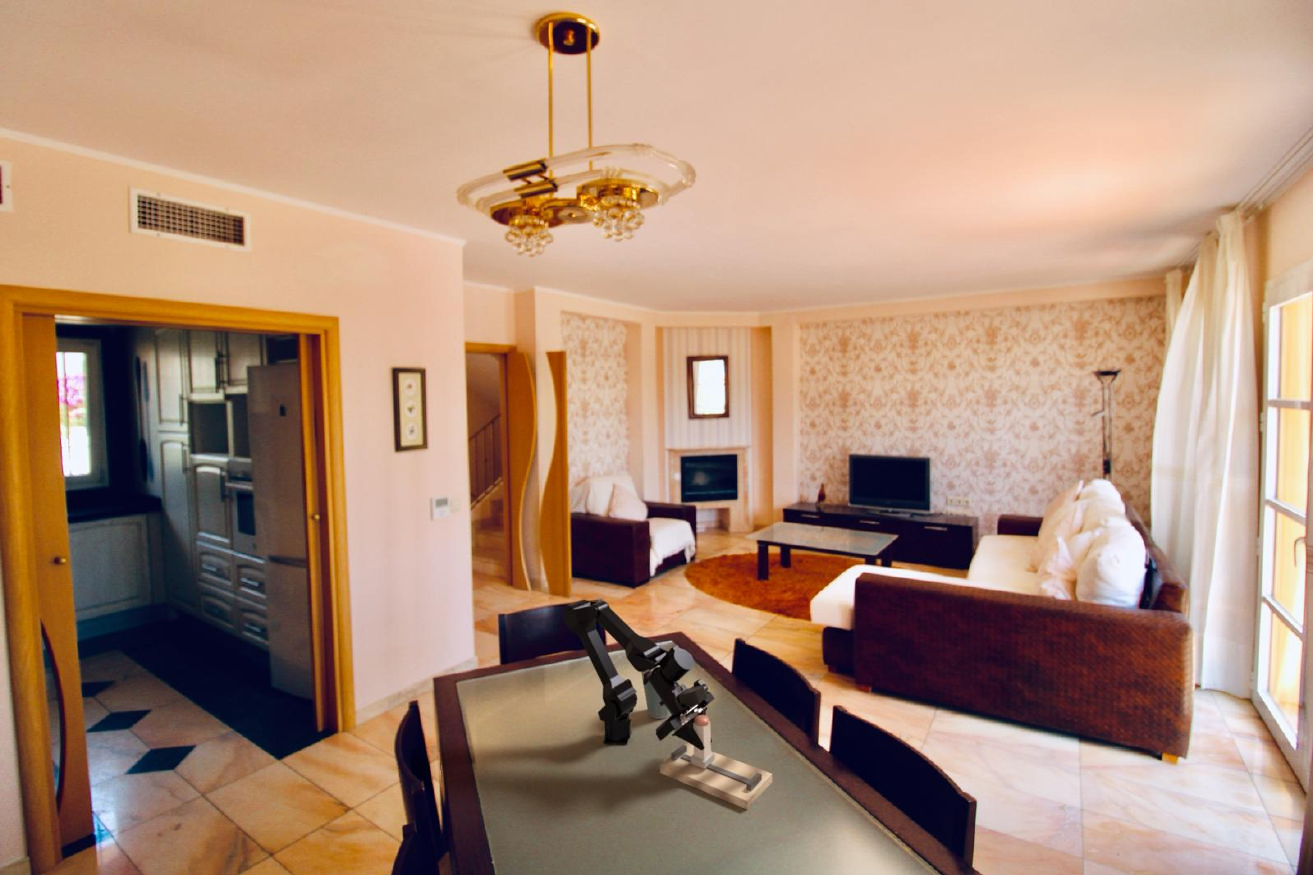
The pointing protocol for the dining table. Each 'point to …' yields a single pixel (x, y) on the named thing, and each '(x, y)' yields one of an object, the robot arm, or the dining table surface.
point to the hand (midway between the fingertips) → (707, 746)
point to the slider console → (718, 776)
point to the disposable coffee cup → (654, 701)
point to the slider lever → (703, 731)
